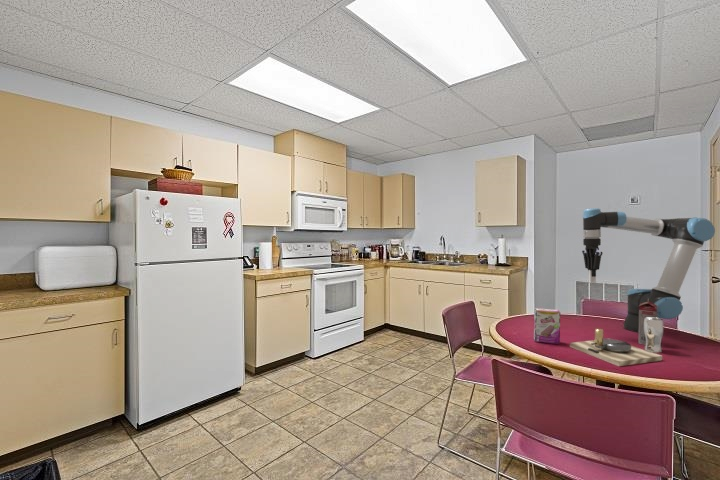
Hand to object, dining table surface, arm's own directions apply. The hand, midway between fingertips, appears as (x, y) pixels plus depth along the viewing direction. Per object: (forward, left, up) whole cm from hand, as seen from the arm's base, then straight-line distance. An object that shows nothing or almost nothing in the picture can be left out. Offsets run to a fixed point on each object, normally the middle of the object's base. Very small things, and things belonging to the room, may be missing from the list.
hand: (592, 282), depth 178 cm
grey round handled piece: (+16, +22, -26) cm, 38 cm away
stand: (+13, +22, -29) cm, 39 cm away
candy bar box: (+30, +1, -29) cm, 42 cm away
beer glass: (-8, +24, -29) cm, 39 cm away
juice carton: (-16, +16, -29) cm, 37 cm away
